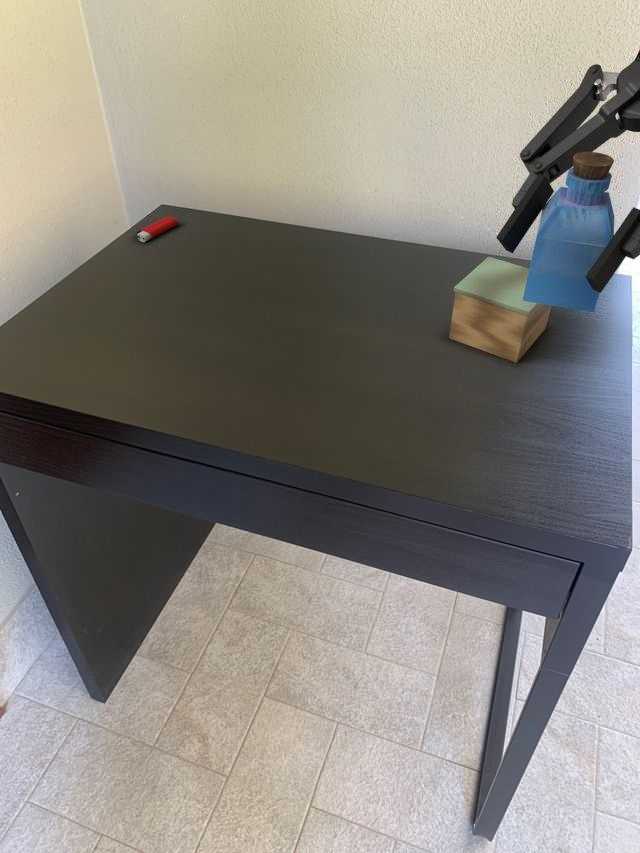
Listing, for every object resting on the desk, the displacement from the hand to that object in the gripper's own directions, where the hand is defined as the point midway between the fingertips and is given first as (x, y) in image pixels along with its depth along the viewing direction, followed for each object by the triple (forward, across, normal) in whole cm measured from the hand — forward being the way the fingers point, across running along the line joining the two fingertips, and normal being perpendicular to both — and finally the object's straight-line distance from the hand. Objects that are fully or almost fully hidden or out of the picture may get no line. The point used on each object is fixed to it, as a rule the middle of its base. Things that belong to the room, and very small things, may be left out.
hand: (546, 264), depth 59 cm
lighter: (+18, +76, -17) cm, 80 cm away
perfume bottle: (0, 0, -5) cm, 5 cm away
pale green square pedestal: (+3, +17, -32) cm, 36 cm away
